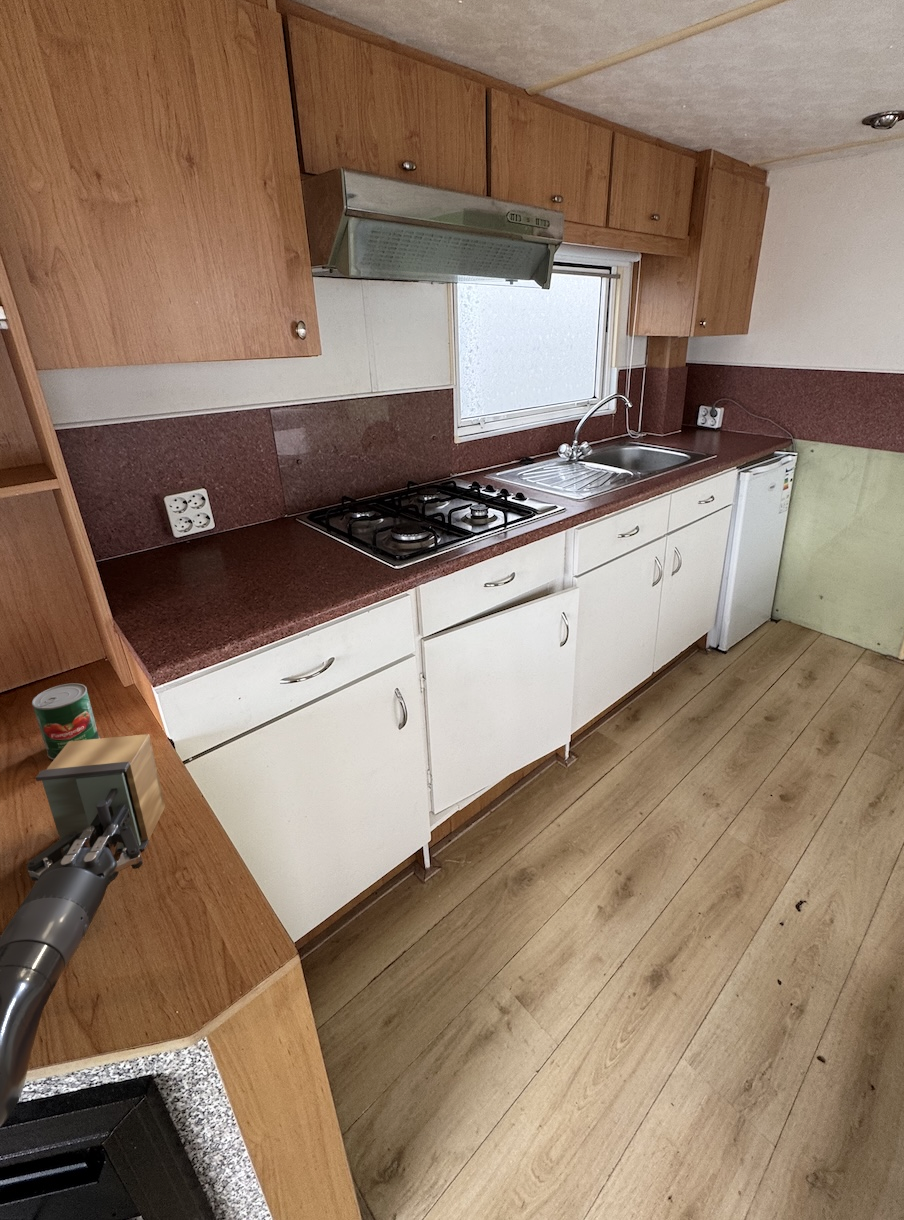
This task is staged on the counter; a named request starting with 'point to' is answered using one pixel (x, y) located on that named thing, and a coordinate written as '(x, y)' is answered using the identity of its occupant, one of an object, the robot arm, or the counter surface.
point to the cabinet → (97, 760)
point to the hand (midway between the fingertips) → (116, 810)
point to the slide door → (106, 799)
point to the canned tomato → (64, 716)
